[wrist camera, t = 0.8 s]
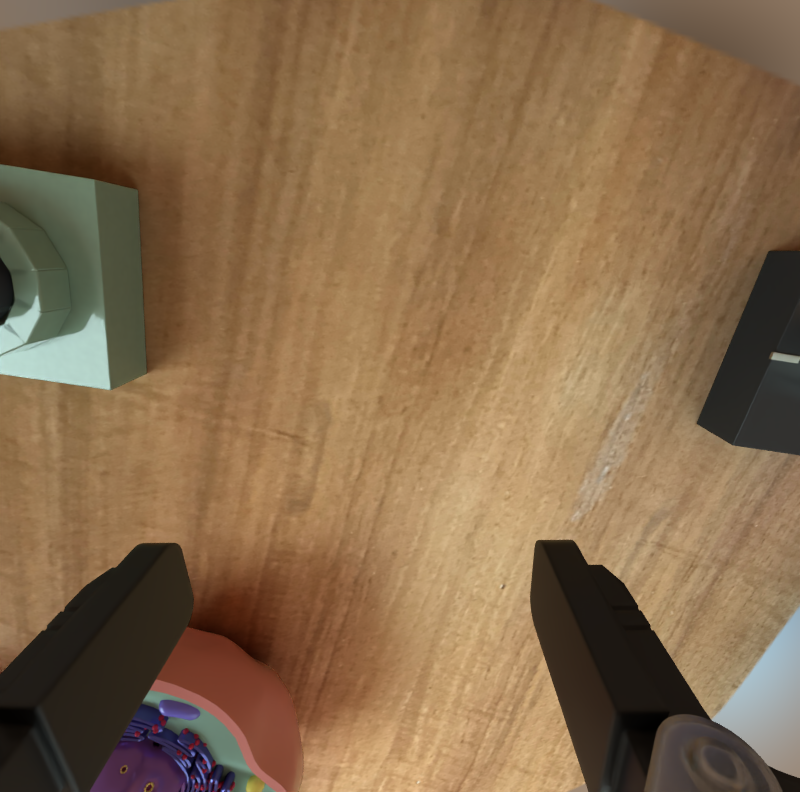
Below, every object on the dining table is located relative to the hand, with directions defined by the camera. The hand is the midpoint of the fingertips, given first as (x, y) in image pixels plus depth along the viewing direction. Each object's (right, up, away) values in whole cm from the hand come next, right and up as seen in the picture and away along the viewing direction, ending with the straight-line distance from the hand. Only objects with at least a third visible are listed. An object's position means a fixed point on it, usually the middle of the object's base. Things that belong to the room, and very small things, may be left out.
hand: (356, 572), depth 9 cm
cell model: (-14, -18, +23) cm, 32 cm away
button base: (-18, +11, +14) cm, 25 cm away
